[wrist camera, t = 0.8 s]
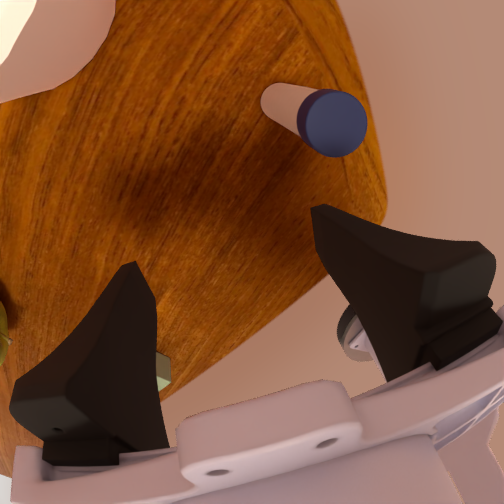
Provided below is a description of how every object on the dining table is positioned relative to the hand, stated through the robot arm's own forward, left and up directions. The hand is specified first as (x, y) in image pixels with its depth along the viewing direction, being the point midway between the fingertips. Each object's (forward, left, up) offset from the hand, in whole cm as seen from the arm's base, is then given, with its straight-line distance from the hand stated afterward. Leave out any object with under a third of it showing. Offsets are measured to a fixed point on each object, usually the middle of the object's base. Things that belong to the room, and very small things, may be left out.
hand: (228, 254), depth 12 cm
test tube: (-2, -6, -10) cm, 12 cm away
